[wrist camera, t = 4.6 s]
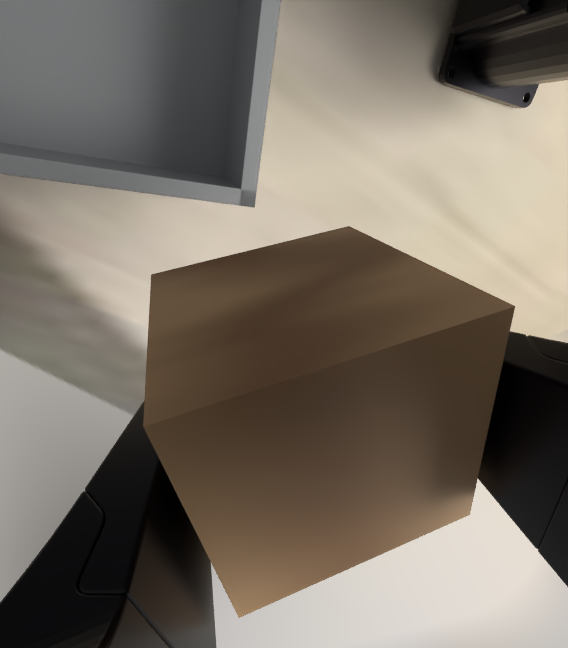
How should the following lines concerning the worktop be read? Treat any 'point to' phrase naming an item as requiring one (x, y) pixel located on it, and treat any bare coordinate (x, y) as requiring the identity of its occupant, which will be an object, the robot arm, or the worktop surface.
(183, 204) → the worktop surface
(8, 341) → the worktop surface
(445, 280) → the walnut cube
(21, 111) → the tote
